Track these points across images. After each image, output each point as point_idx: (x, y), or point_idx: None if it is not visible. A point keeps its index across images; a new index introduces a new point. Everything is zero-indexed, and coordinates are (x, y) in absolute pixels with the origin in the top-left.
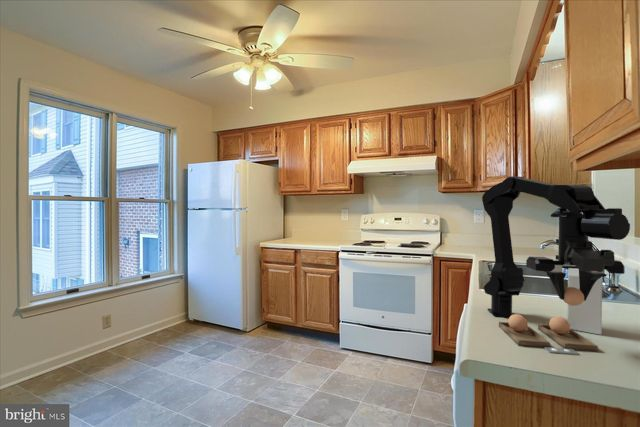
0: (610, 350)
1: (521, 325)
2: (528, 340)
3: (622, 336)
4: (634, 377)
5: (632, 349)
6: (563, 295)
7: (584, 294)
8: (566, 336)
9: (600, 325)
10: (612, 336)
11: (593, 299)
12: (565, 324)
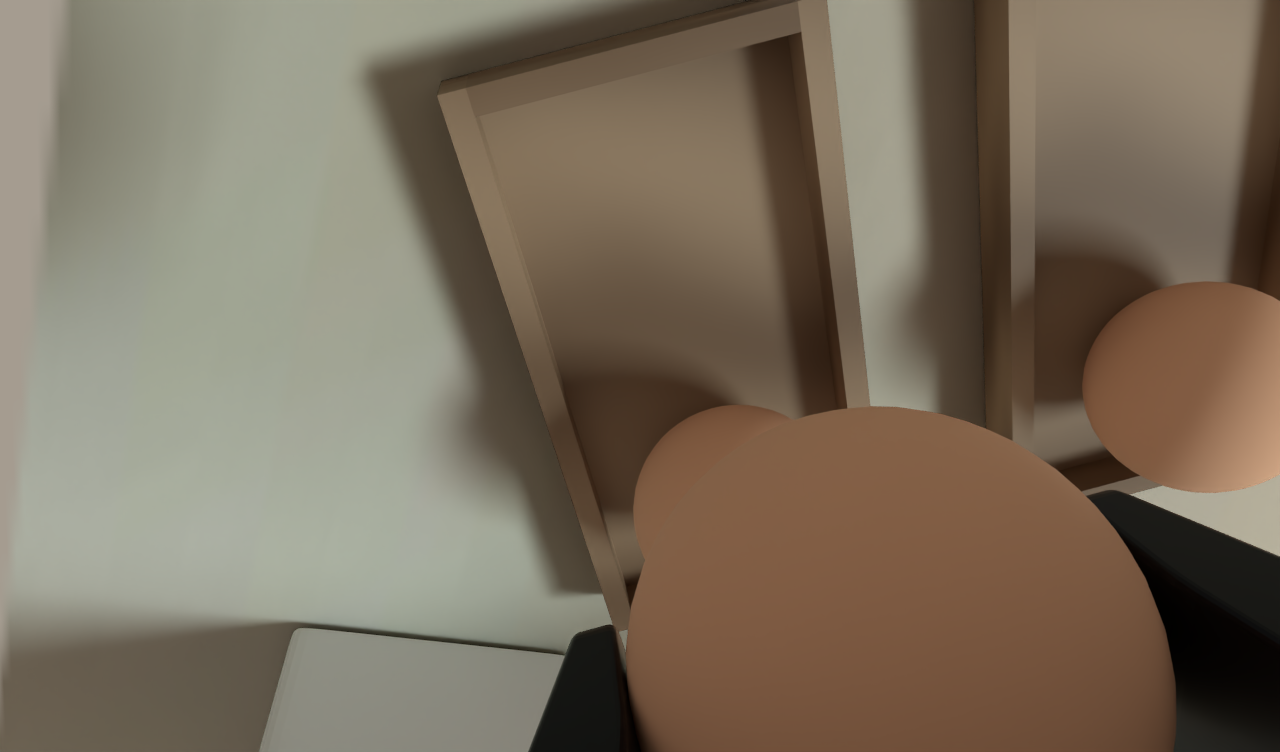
0: (289, 198)
1: (1208, 297)
2: None
3: (103, 683)
4: None
5: (51, 346)
6: (1171, 544)
7: (631, 744)
8: (667, 397)
9: (282, 706)
10: (196, 642)
11: None
12: (712, 466)
